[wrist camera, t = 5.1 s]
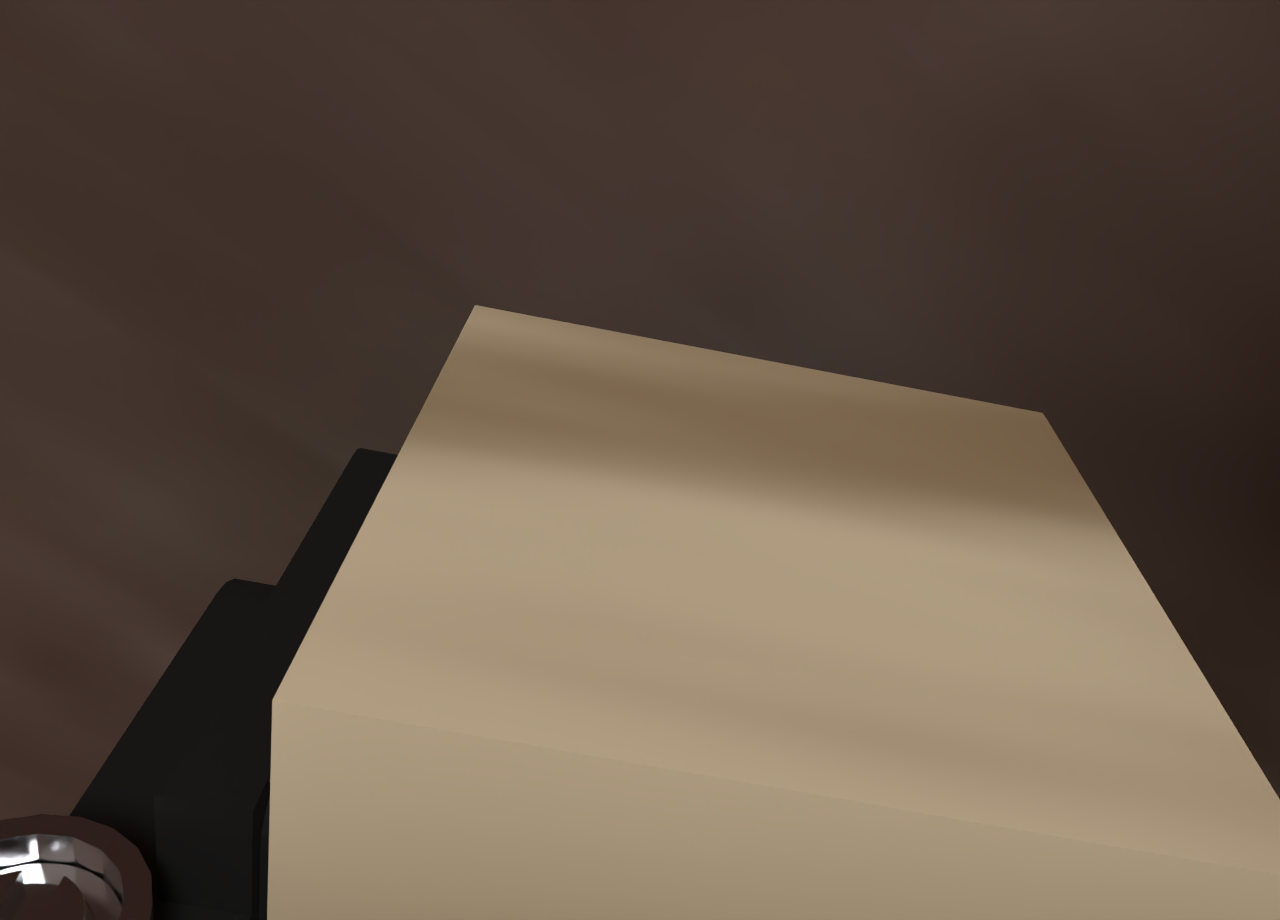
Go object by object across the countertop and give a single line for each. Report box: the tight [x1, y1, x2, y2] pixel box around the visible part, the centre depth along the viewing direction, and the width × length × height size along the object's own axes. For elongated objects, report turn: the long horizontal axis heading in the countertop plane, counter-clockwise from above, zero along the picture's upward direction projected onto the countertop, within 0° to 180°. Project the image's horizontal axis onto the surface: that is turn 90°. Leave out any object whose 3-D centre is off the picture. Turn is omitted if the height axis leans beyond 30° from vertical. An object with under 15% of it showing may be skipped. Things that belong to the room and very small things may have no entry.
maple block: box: [267, 305, 1280, 920], centre depth 8 cm, size 5×5×5 cm
